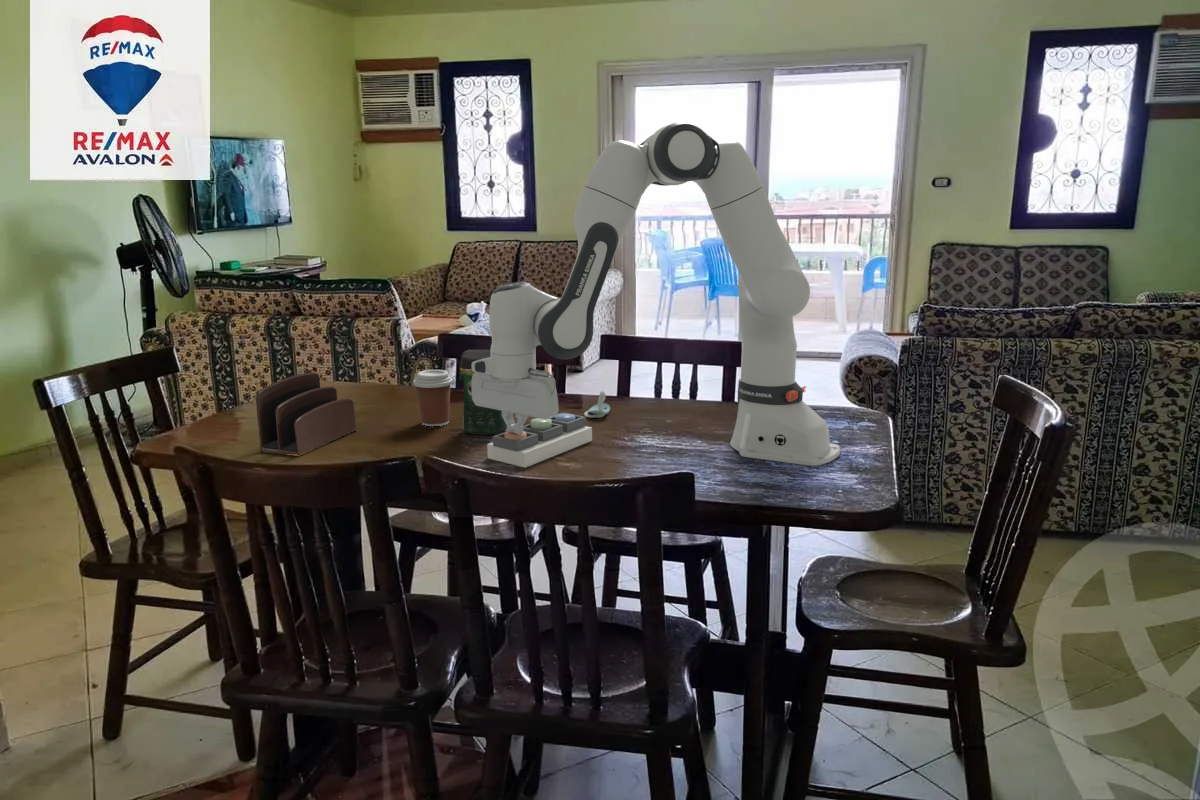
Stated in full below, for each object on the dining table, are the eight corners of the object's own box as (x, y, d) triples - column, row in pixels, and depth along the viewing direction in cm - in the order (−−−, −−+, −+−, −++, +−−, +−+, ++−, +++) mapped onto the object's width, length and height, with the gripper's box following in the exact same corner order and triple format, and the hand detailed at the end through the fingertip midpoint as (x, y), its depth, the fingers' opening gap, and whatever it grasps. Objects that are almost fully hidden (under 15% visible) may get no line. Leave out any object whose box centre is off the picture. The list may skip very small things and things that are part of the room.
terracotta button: (531, 440, 169) (530, 432, 169) (516, 445, 166) (516, 438, 165) (514, 436, 172) (514, 429, 171) (500, 441, 168) (499, 434, 168)
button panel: (592, 440, 182) (592, 418, 180) (524, 467, 164) (523, 443, 163) (556, 432, 187) (556, 411, 186) (487, 458, 170) (486, 434, 169)
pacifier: (581, 419, 199) (605, 420, 198) (580, 394, 197) (605, 394, 196) (587, 411, 206) (611, 412, 205) (586, 387, 204) (610, 387, 203)
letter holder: (259, 452, 175) (252, 387, 171) (321, 427, 193) (315, 367, 189) (299, 458, 171) (292, 390, 168) (357, 431, 189) (353, 370, 186)
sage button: (556, 427, 175) (555, 420, 175) (542, 432, 172) (542, 424, 171) (539, 424, 178) (539, 416, 177) (526, 428, 174) (526, 421, 174)
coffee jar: (511, 427, 192) (508, 347, 187) (500, 437, 184) (497, 354, 180) (470, 425, 194) (467, 345, 189) (458, 434, 186) (454, 352, 182)
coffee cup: (412, 428, 191) (408, 377, 188) (419, 418, 200) (416, 368, 197) (452, 428, 191) (449, 377, 188) (457, 417, 200) (455, 368, 197)
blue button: (579, 422, 182) (579, 415, 181) (566, 427, 178) (566, 420, 178) (563, 419, 184) (563, 412, 184) (550, 424, 181) (550, 416, 180)
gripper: (564, 369, 161) (565, 438, 165) (487, 357, 173) (489, 421, 176) (543, 375, 156) (545, 446, 160) (465, 362, 168) (468, 428, 171)
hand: (515, 433), depth 168 cm, fingers closed, pressing on terracotta button
